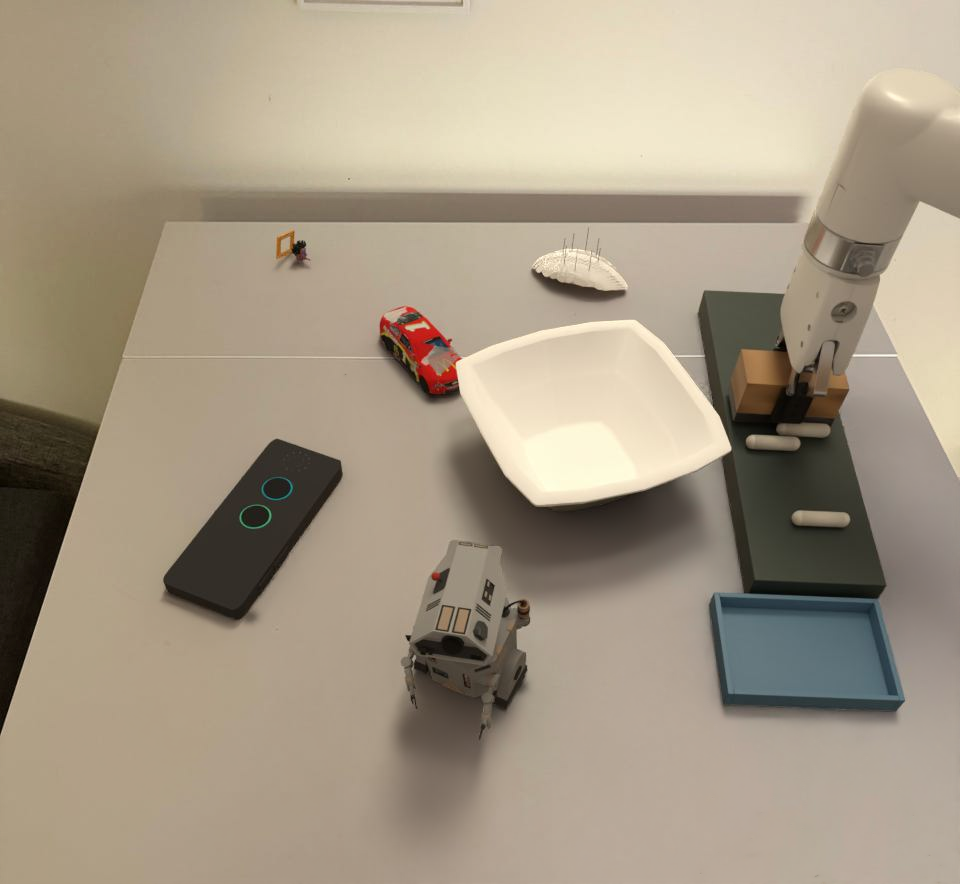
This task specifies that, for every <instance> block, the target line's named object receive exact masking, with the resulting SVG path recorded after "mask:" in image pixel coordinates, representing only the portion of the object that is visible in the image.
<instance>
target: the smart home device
mask: <svg viewBox="0 0 960 884" xmlns="http://www.w3.org/2000/svg"><path fill="white" fill-rule="evenodd" d="M343 474H344V473H343V466H342V461H341V460H340V459H337V458H334V457H332V456H329V455H326V454H324V453H320V452H317V451H315V450H311V449H309V448H306V447H303V446H301V445H297V444H294V443H292V442H289V441H287V440H283V439H280V438H275V439H273V440H271V441H270V442H269V443H268V444H267V445H266V447H264V449H263V450H262V452H261V453H260V454H259V455H258V456H257V458H255V460H254V462H253V463H252V464H251V465H250V466H249V468H248V469H247V470H246V471H245V473H244V474H243V475H242V476H241V478H240V479H239V480H238V482H237V483H235V485H234V487H233V488H232V489H231V491H230V492H229V493H228V494H227V496H226V497H225V498H224V499H223V501H222V502H221V503H220V504H219V506H218V507H217V508H216V509H215V511H214V512H213V513H212V514H211V515H210V517H209V518H208V519H207V521H206V522H205V523H204V525H203V526H202V527H201V528H200V530H199V531H198V532H197V533H196V534H195V536H194V537H193V539H192V540H191V541H190V542H189V543H188V544H187V546H186V548H185V549H184V550H183V551H182V552H181V554H180V555H179V556H178V557H177V559H176V560H175V561H174V562H173V564H172V565H171V566H170V568H169V569H168V570H167V571H166V573H165V574H164V576H163V578H162V583H163V584H164V587H165V589H166V591H167V593H168V594H170V595H172V596H175V597H177V598H179V599H182V600H185V601H187V602H190V603H192V604H195V605H197V606H200V607H203V608H205V609H207V610H210V611H213V612H216V613H218V614H220V615H223V616H225V617H228V618H230V619H233V620H237V621H238V620H240V619H242V618H243V617H244V616H245V615H246V614H247V613H248V611H249V610H250V608H251V607H252V606H253V605H254V603H255V601H256V600H257V598H259V596H260V595H261V593H262V592H263V590H264V589H265V588H266V586H267V584H268V583H269V582H270V580H271V579H272V577H273V576H274V574H275V573H276V572H277V570H278V569H279V568H280V566H281V565H282V563H283V562H284V560H285V559H286V558H287V557H288V555H289V553H290V552H291V551H292V550H293V547H294V546H295V545H296V543H297V542H298V540H299V539H300V538H301V536H302V535H303V533H304V532H305V531H306V529H307V528H308V527H309V525H310V524H311V523H312V521H313V520H314V518H315V517H316V515H317V514H318V513H319V511H320V510H321V508H322V507H323V505H324V504H325V502H326V501H327V499H328V498H329V497H330V496H331V494H332V493H333V492H334V490H335V489H336V487H337V486H338V484H339V483H340V481H341V480H342V478H343Z"/></svg>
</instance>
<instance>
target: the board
mask: <svg viewBox="0 0 960 884" xmlns="http://www.w3.org/2000/svg"><path fill="white" fill-rule="evenodd" d="M784 295H785V293H777V292H776V293H775V292H756V291H755V292H754V291H753V292H752V291H751V292H750V291H730V290H711V289H708V290H706V289H705V290H703V293H702V296H701V299H700V303H699V307H698V310H699V314H698V319H699V318H700V320H699V325H700V324H701V326H700V331H701V330H702V332H701V338H702V337H703V338H702V343H703V342H704V344H703V349H704V348H705V350H704V356H705V362H706V367H707V373H708V379H709V386H710V392H711V398H712V404H713V405H712V406H713V408H714V409H715V411H716V412H717V414H718V415H719V416H720V419H721V422H722V424H723V427H724V430H725V432H726V435H727V437H728V440H729V443H730V445H731V451H730V452H729V453H728V454H726V455H725V456H723V457H721V459H722V465H723V471H724V476H725V477H724V478H725V482H726V489H727V494H728V501H729V506H730V513H731V518H732V525H733V531H734V536H735V542H736V548H737V555H738V561H739V567H740V572H741V578H742V586H743V591H744V594H767V595H792V596H816V597H841V598H865V599H878V600H879V598H880V596H881V595H882V594H883V592H884V590H886V587H887V586H888V585H887V581H886V578H885V574H884V570H883V567H882V563H881V559H880V556H879V552H878V548H877V545H876V541H875V537H874V533H873V529H872V526H871V522H870V518H869V515H868V512H867V509H866V505H865V501H864V497H863V495H862V490H861V486H860V483H859V480H858V475H857V472H856V468H855V464H854V461H853V458H852V457H853V456H852V454H851V450H850V445H849V441H848V439H847V435H846V432H845V427H844V425H843V421H842V417H841V413H840V411H839V412H838V414H837V416H836V418H835V420H834V422H833V424H832V426H831V427H830V434H829V435H828V436H827V437H824V438H818V437H798V436H791V437H797V438H798V439H799V440H800V447H799V448H798V449H797V450H795V451H782V450H760V449H750V448H748V447H747V446H746V439H747V438H748V437H749V436H750V435H770V436H781V435H779V434H778V433H777V431H776V427H777V425H778V424H768V423H751V422H734V421H733V417H732V411H731V405H730V399H729V393H728V386H729V383H730V380H731V377H732V374H733V372H734V369H735V366H736V363H737V360H738V357H739V355H740V352H741V349H746V350H762V351H773V349H774V348H779V347H776V338H777V335H778V334H779V332H780V330H781V329H782V323H781V305H782V301H783V298H784ZM796 511H824V512H844V513H847V514H848V515H849V517H850V522H849V524H848V525H847V526H845V527H822V526H798V525H795V524H794V523H793V522H792V515H793V514H794V513H795V512H796Z"/></svg>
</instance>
